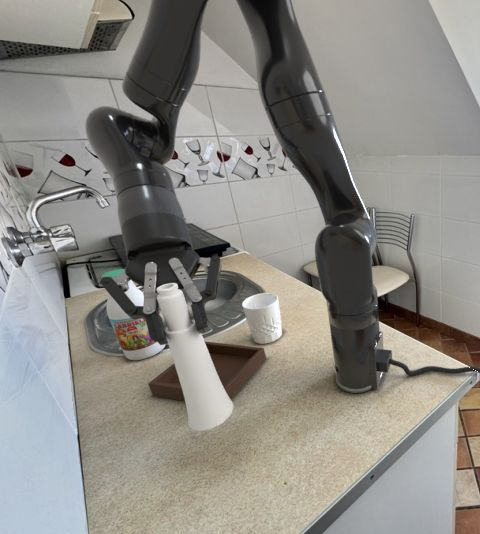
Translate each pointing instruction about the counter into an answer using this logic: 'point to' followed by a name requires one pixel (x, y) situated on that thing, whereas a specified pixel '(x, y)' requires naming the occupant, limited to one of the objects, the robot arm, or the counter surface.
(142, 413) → the counter surface
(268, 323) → the white cup
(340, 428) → the counter surface
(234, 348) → the tray
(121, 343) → the milk bottle
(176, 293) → the cosmetic bottle
